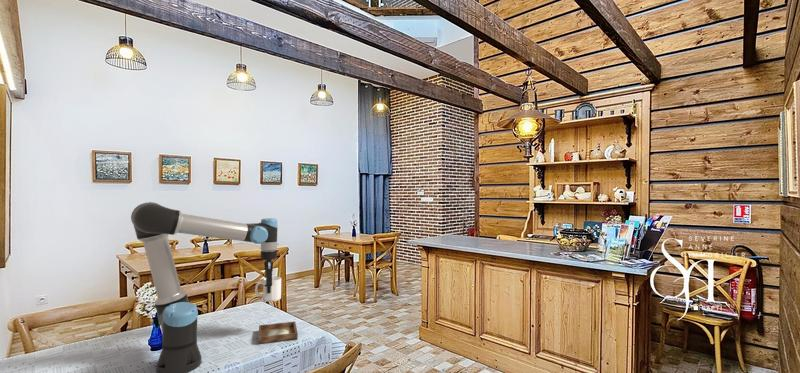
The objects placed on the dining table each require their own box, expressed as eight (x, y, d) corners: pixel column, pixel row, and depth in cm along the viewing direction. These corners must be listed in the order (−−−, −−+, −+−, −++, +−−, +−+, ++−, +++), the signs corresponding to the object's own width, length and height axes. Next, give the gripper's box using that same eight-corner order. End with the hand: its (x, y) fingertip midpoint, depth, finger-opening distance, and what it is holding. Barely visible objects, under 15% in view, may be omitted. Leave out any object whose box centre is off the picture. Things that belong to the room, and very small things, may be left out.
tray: (258, 344, 164) (258, 337, 164) (259, 331, 179) (259, 325, 179) (297, 339, 170) (297, 333, 170) (295, 327, 185) (295, 321, 185)
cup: (280, 301, 176) (281, 280, 176) (254, 303, 173) (254, 281, 173) (281, 296, 184) (281, 276, 184) (255, 298, 181) (255, 277, 181)
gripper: (278, 253, 170) (277, 302, 170) (275, 246, 190) (274, 290, 189) (261, 254, 167) (260, 304, 167) (260, 247, 187) (259, 292, 187)
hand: (268, 296), depth 178 cm, fingers closed on cup, 8 cm apart
